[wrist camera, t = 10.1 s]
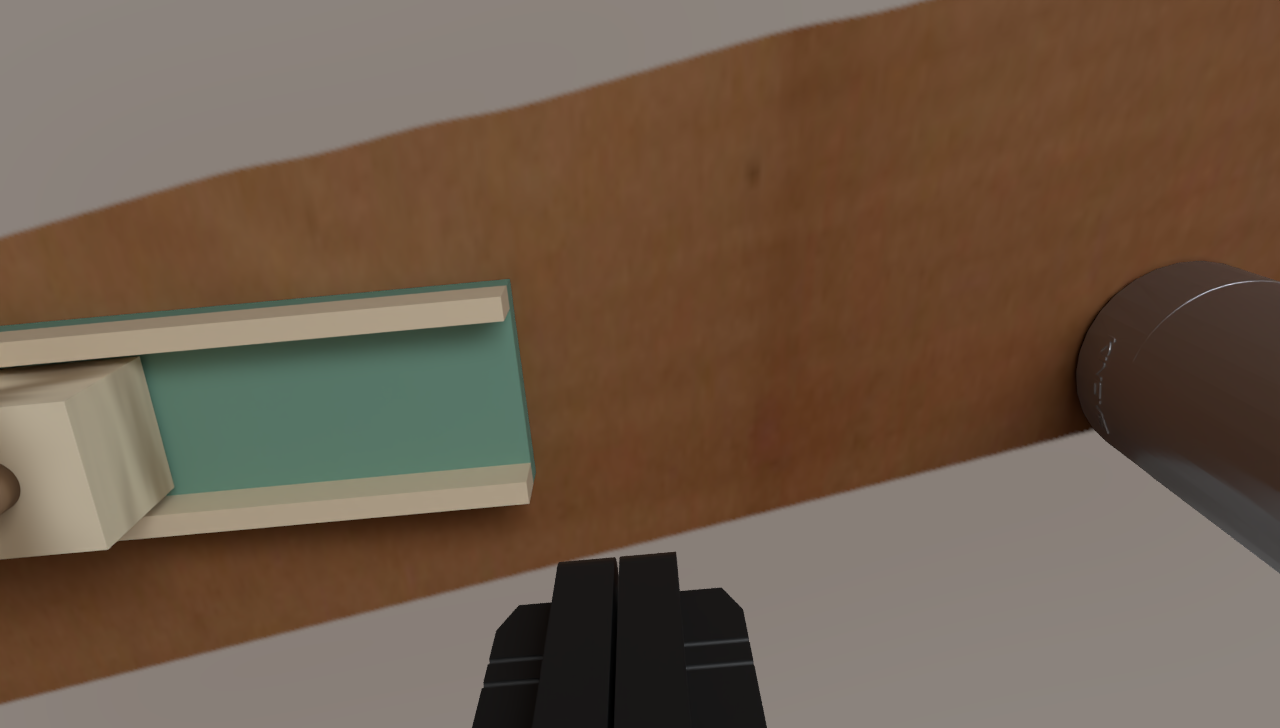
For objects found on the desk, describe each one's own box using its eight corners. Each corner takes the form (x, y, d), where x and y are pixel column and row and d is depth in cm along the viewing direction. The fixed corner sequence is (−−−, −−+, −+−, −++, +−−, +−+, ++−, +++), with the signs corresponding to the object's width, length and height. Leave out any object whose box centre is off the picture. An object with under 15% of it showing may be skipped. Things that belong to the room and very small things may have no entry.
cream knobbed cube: (139, 356, 38) (44, 413, 32) (174, 487, 40) (90, 565, 34) (-28, 371, 38) (-156, 431, 32) (15, 501, 40) (-99, 582, 34)
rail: (509, 278, 39) (490, 316, 33) (535, 472, 42) (522, 537, 36) (-50, 330, 39) (-168, 376, 34) (12, 519, 42) (-87, 593, 36)
